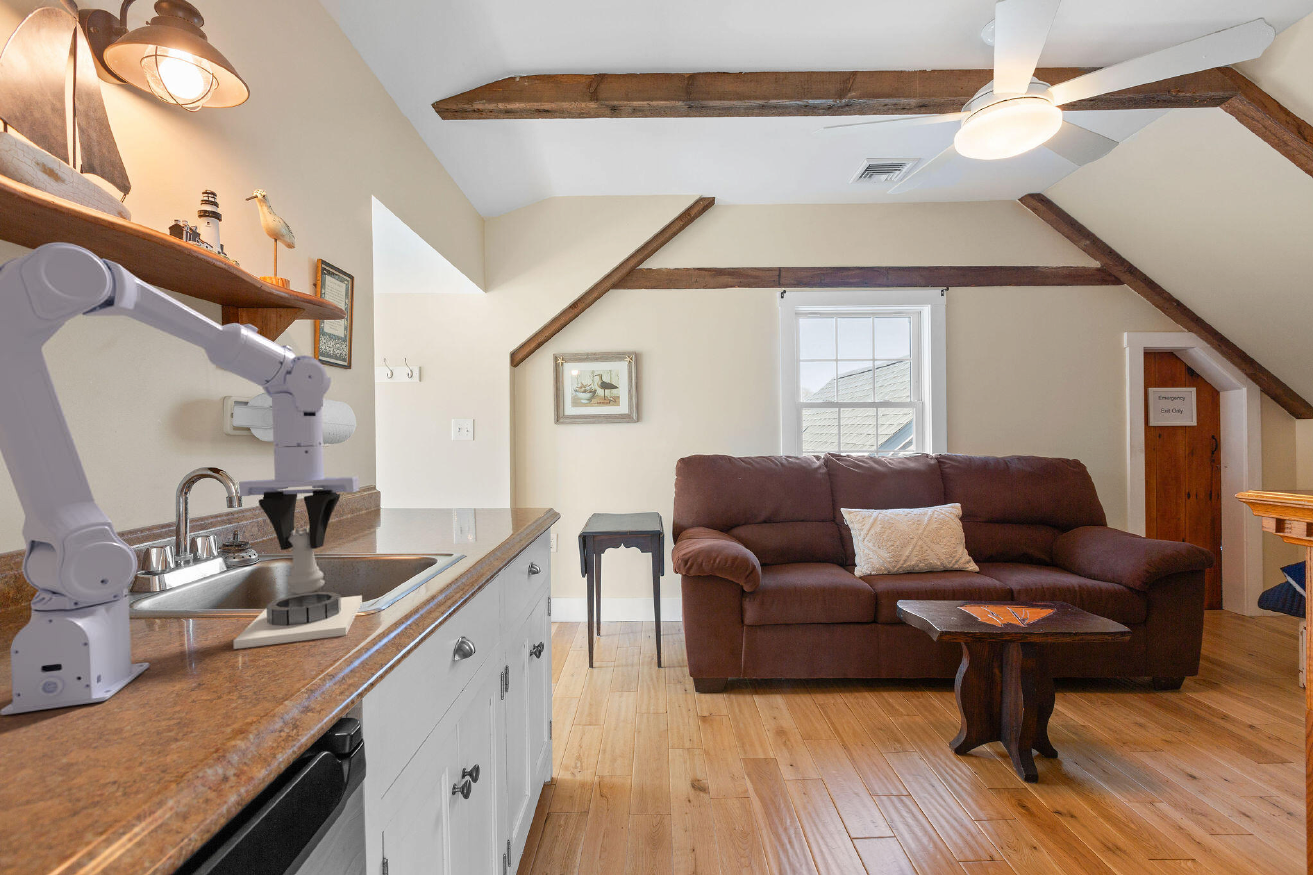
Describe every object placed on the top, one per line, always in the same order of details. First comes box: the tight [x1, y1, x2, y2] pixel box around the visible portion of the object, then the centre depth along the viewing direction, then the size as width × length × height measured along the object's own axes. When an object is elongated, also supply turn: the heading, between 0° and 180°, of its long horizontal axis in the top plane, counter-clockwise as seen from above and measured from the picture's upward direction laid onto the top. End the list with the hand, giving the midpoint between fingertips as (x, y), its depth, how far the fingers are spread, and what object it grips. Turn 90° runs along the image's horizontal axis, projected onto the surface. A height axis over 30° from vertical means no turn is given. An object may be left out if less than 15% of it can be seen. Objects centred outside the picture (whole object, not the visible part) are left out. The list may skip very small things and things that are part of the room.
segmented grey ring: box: [265, 591, 342, 626], centre depth 82 cm, size 8×8×2 cm
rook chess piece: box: [286, 527, 326, 594], centre depth 83 cm, size 4×4×8 cm
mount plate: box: [233, 595, 363, 650], centre depth 82 cm, size 16×12×1 cm
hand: (302, 547), depth 82 cm, fingers closed on rook chess piece, 3 cm apart
